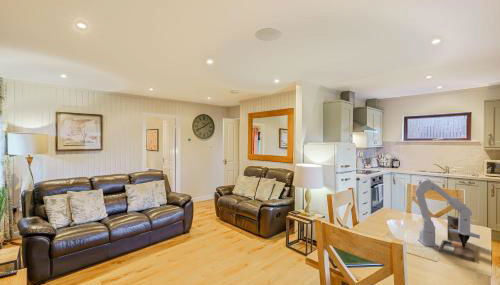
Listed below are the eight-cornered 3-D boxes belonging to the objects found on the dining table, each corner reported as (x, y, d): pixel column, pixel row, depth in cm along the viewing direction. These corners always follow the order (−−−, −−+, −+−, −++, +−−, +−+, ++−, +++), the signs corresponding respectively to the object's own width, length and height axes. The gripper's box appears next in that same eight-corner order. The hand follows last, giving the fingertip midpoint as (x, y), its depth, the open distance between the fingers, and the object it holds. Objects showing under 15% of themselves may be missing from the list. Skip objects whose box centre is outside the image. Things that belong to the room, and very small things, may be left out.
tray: (439, 251, 152) (439, 248, 152) (442, 242, 165) (442, 239, 165) (454, 255, 147) (454, 252, 147) (456, 246, 160) (456, 243, 160)
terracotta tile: (451, 245, 156) (451, 242, 156) (452, 243, 160) (452, 240, 160) (461, 248, 153) (461, 245, 153) (462, 245, 156) (462, 242, 156)
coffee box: (464, 240, 168) (465, 218, 167) (464, 243, 163) (464, 220, 163) (447, 237, 174) (448, 215, 174) (447, 240, 169) (447, 217, 169)
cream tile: (443, 250, 153) (443, 247, 152) (444, 248, 156) (444, 245, 156) (453, 253, 149) (453, 250, 149) (454, 250, 153) (454, 247, 153)
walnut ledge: (454, 256, 146) (454, 252, 146) (456, 245, 161) (456, 242, 161) (474, 261, 140) (474, 258, 140) (475, 249, 154) (475, 246, 154)
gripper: (448, 224, 155) (448, 244, 156) (479, 230, 145) (479, 252, 146) (450, 221, 161) (449, 241, 161) (480, 226, 150) (479, 248, 151)
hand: (463, 246), depth 154 cm, fingers closed
